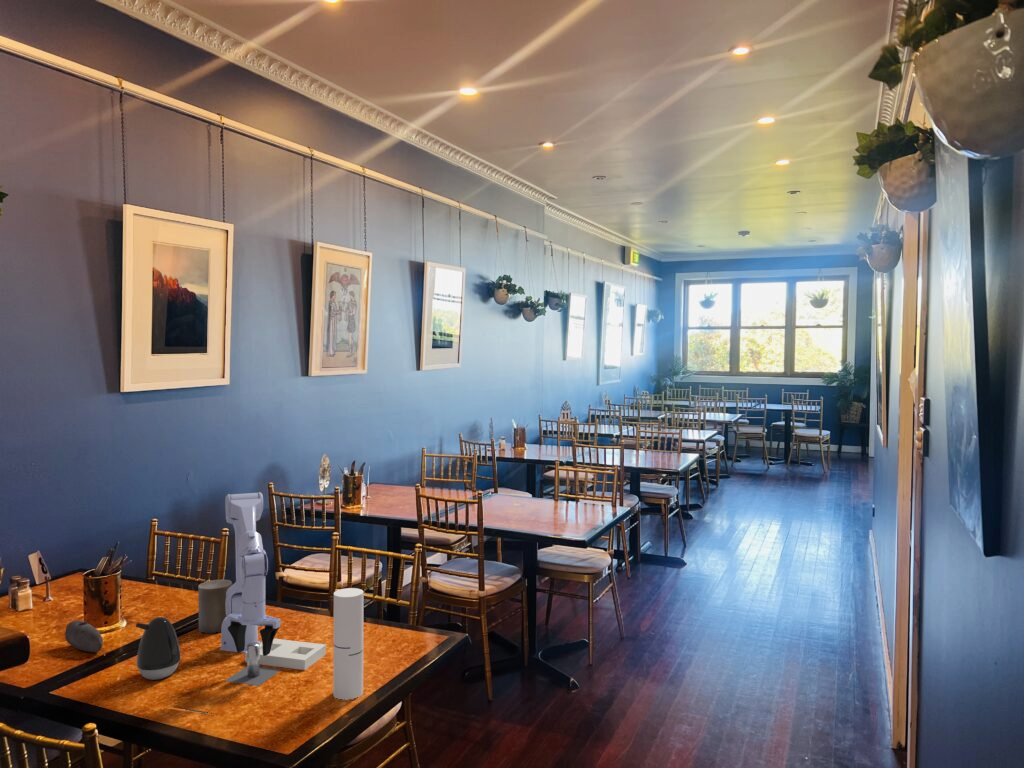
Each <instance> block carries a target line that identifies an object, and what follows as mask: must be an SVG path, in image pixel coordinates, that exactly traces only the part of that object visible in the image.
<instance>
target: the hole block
mask: <svg viewBox="0 0 1024 768" xmlns="http://www.w3.org/2000/svg"><path fill="white" fill-rule="evenodd" d="M326 654H327V644H323V643H316V642H308V641H306V642H305V641H299V640H298V641H297V640H291V639H289V640H288V639H282V638H281V639H280V638H274V640H273V643H272V646H271V650H270V653H269V654H268V655H266V656H263V644H262V643H260V666H261V665H263V666H269V667H278V668H285V669H286V668H287V669H294V670H302V671H307V669H308V668H310V667H312V665H314V664H315V663H316V662H317V661H319V660H320V659H322V658H323V657H324V656H325V655H326ZM244 655H245V657H244V659H245V661H244V662H245V663H246V664H247V652H246V653H244Z"/></svg>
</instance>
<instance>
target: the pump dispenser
mask: <svg viewBox="0 0 1024 768" xmlns="http://www.w3.org/2000/svg"><path fill="white" fill-rule="evenodd" d="M135 627H136V628H139V629H141V630H144V631H143V633H142V635H141V638H140V642H139V644H138V648H137V649H138V650H137V655H136V667H137V669H138V671H139V673H140V675H141V676H142V677H144V678H145V679H147V680H152V681H154V680H155V681H157V680H163V679H165V678H168V677H170V676H172V674H173V673H174V672H175V671H176V670H177V668H178V665H179V663H180V660H181V658H182V657H181V647H180V642H179V638H178V636H177V633H176V630H175V628H174V626H173V624H172V623H171V621H170V620H169V619H168V618H166V617H165V616H158V617H154V618H152V619H151V620H150V621H149V622H148V623H143V622H136V624H135Z"/></svg>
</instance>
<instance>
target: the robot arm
mask: <svg viewBox="0 0 1024 768" xmlns="http://www.w3.org/2000/svg"><path fill="white" fill-rule="evenodd" d="M224 499H225V502H224V503H225V505H224V506H225V507H224V509H225V520H226V523H228V524H231V525H232V526H233V529H234V536H235V538H234V539H235V540H234V542H235V543H234V544H235V547H234V548H235V582H234V583H232V586H231V587H229V588H228V589H227V592H226V602H225V607H226V616H227V617H226V618H225V619H224V620H223V623H222V627H221V632H220V633H221V635H220V643H221V644H220V647H219V650H220V651H226V652H232V653H233V652H235V653H237V654H238V653H239V654H240V653H242V654H245V653H246V652H247V645H248V644H249V643H253V642H258V643H262V644H263V656H266V655H268V654H269V653H270V650H271V646H272V643H273V640H274V639H275V637H276V634H277V632H278V630H279V629H280V627H281V618H278V617H273V616H271V615H267V614H266V576H267V575H268V570H269V559H268V556H267V552H266V550H265V549H264V545H263V539H262V535H261V534H260V533H259V532H257V521H259V520H261V517H262V513H263V511H264V496H263V493H262V492H261V491H258V492H250V493H249V492H248V493H233V494H230V493H227V495H226V496H225V498H224ZM259 627H264V628H262V629H260V630H259ZM258 631H259V632H258ZM259 633H260V637H261V641H260V640H259Z"/></svg>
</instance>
